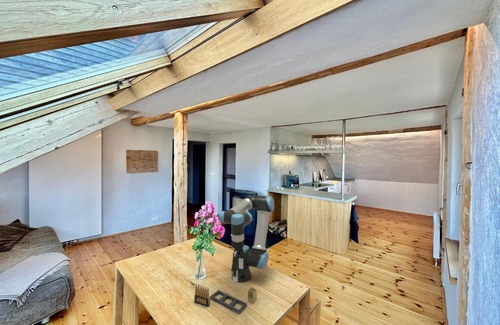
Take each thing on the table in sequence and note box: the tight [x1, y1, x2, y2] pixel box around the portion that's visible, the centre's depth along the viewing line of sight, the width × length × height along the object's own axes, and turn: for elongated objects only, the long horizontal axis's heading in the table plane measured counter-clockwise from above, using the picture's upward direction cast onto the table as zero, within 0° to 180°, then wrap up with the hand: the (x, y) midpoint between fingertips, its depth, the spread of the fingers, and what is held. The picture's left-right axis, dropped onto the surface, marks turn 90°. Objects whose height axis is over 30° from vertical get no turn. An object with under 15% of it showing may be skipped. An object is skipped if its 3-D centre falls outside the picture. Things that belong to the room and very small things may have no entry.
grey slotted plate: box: [209, 289, 248, 315], centre depth 129 cm, size 8×24×2 cm, turn 56°
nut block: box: [247, 287, 258, 305], centre depth 130 cm, size 4×4×7 cm
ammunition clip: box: [193, 283, 211, 308], centre depth 128 cm, size 11×2×12 cm, turn 67°
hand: (238, 274), depth 123 cm, fingers open, 13 cm apart
